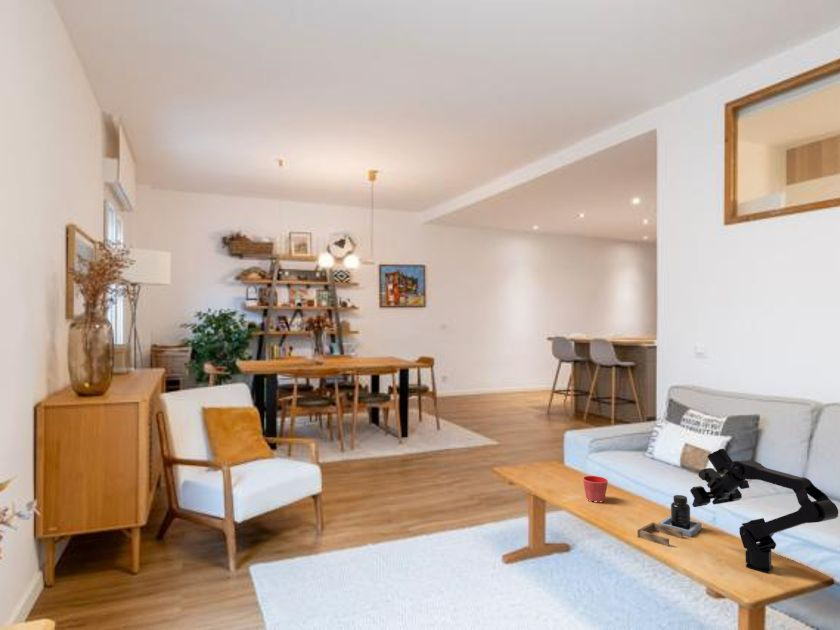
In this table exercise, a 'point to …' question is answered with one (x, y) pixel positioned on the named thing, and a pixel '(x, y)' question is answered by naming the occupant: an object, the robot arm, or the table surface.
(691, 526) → the tray
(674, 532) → the cradle
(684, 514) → the supplement bottle
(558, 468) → the table surface
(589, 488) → the flower pot
